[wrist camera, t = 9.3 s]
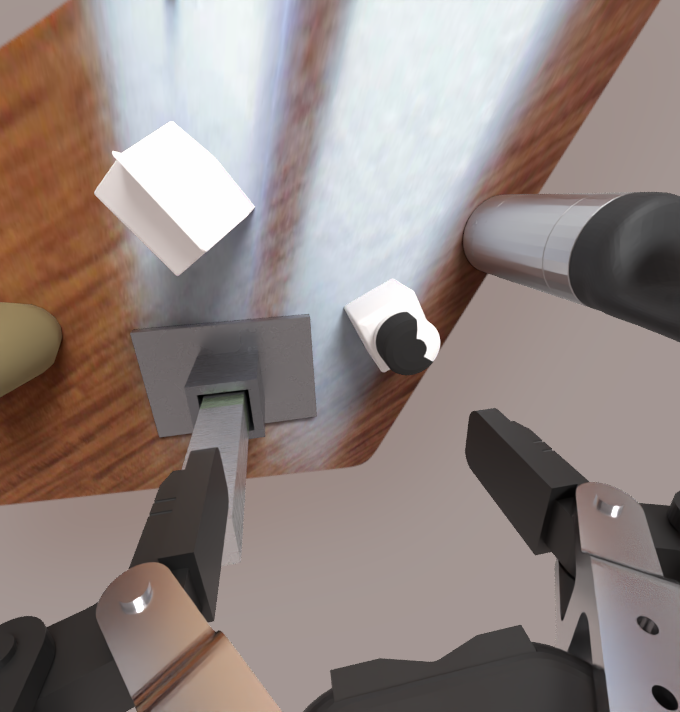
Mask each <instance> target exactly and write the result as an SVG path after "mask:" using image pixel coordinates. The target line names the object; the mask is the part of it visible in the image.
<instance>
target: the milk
mask: <svg viewBox="0 0 680 712" xmlns="http://www.w3.org/2000/svg"><path fill="white" fill-rule="evenodd" d="M112 154H113V156H114V157H115V158H116V161H115V163H114V164H113V166H112V167H111V168H110V170H109V171H108V173H107V174H106V176H105V177H104V179H103V180H102V181H101V183H100V184H99V186H98V187H97V189H96V190H95V192H94V194H95V195H96V196H97V197H98V198H99V199H100V200H101V201H102V202H103V203H104V204H105V205H106V206H107V207H108V208H109V209H110V210H111V211H112V212H113V213H114V214H115V215H116V216H117V217H118V218H119V219H120V220H121V221H122V222H123V223H124V224H125V225H126V226H127V227H128V228H129V229H130V230H131V231H132V232H133V233H134V234H135V235H136V236H137V237H138V238H139V239H140V240H141V241H142V242H143V243H144V244H145V245H146V246H147V247H148V248H149V249H150V250H151V251H152V252H153V253H154V254H155V255H156V256H157V257H158V258H159V259H160V260H161V261H162V262H163V263H164V264H165V265H166V266H167V267H168V268H169V269H170V270H171V271H172V272H173V273H174V274H175V275H176V276H179V275H180V274H181V273H183V272H184V271H185V270H186V269H187V268H188V267H190V266H191V265H192V264H193V263H194V262H195V261H197V260H198V259H199V258H200V257H201V256H202V255H204V254H205V253H206V252H207V251H208V250H209V249H210V248H212V247H213V246H214V245H215V244H216V243H217V242H218V241H220V240H221V239H222V238H223V237H224V236H225V235H226V234H228V233H229V232H230V231H231V230H232V229H233V228H234V227H236V226H237V225H238V224H239V223H240V222H241V221H242V220H244V219H245V218H246V217H247V216H248V215H249V214H250V213H251V212H252V210H253V209H254V208H255V206H254V205H253V204H252V202H251V201H250V200H249V199H248V197H247V196H246V195H245V194H244V192H243V191H242V190H241V189H240V187H239V186H238V185H237V184H236V183H235V181H234V180H233V179H232V178H231V176H230V175H229V174H228V173H227V171H226V170H225V169H224V168H223V166H222V165H221V164H220V163H219V161H218V160H217V159H216V158H215V157H214V156H213V155H212V154H211V153H210V152H208V151H207V150H206V149H205V148H204V147H202V146H201V145H200V144H199V143H198V142H197V141H195V140H194V139H193V138H192V137H191V136H190V135H188V134H187V133H186V132H185V131H184V130H182V129H181V128H180V127H179V126H178V125H177V124H175V123H174V122H173V121H170V122H168V123H167V124H165V125H164V126H162V127H161V128H159V129H158V130H156V131H155V132H153V133H152V134H150V135H149V136H147V137H146V138H144V139H142V140H141V141H139V142H138V143H136V144H135V145H133V146H132V147H130V148H129V149H127V150H126V151H124V152H123V153H119V152H116V151H112Z"/></svg>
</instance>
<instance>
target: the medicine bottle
mask: <svg viewBox="0 0 680 712" xmlns="http://www.w3.org/2000/svg"><path fill="white" fill-rule="evenodd" d="M344 309H345V311H346V313H347V315H348V317H349V319H350V320H351V322H352V324H353V326H354V328H355V330H356V331H357V333H358V335H359V337H360V339H361V341H362V342H363V344H364V346H365V348H366V350H367V351H368V353H369V354H370V356H371V357H372V359H373V360H374V362H375V363H376V364H377V366H378V367H379V369H380V370H381V371H382V372H386V371H388V370H390V369H391V370H392V371H394V372H395V373H398V374H401V375H413V374H417V373H419V372H421V371H423V370H425V369H426V368H428V367H429V366H430V365H431V364H432V363H433V361H434V360H435V359H436V357H437V355H438V352H439V349H440V337H439V334H438V331H437V330H436V328H435V327H434V326H433V325H432V324H431V323H430V322H428V321H427V320H426V318H425V315H424V313H423V311H422V308H421V306H420V304H419V302H418V299H417V297H416V295H415V292H414V291H413V290H411V289H409V288H408V287H406V286H405V285H403V284H401V283H400V282H398V281H396V280H395V279H390V280H388V281H386V282H385V283H383V284H381V285H380V286H378V287H376V288H374V289H373V290H371V291H369V292H367V293H366V294H364V295H362V296H360V297H359V298H357V299H355V300H354V301H352V302H350V303H348V304H347V305H345V306H344Z"/></svg>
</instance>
